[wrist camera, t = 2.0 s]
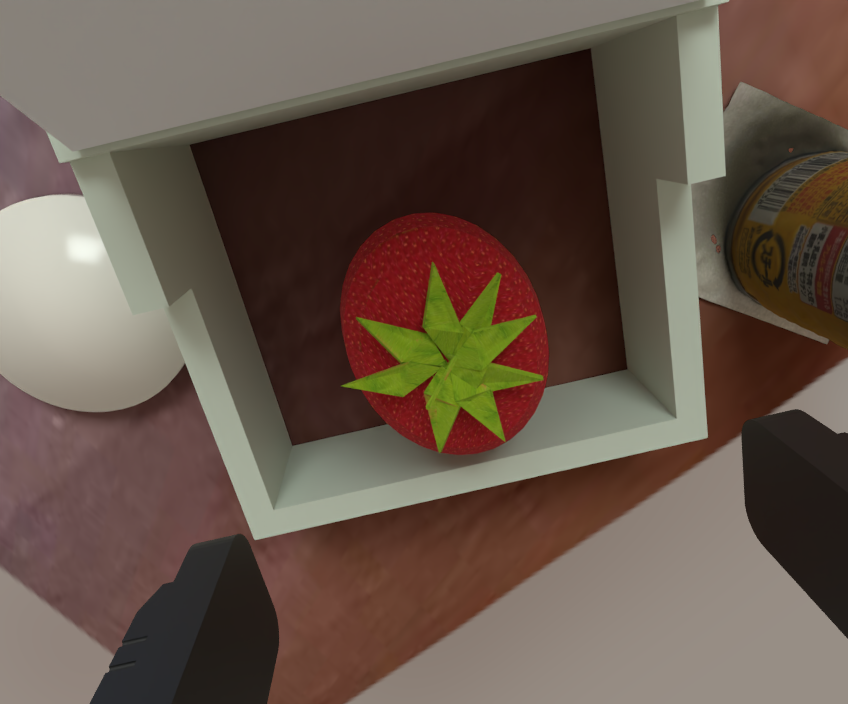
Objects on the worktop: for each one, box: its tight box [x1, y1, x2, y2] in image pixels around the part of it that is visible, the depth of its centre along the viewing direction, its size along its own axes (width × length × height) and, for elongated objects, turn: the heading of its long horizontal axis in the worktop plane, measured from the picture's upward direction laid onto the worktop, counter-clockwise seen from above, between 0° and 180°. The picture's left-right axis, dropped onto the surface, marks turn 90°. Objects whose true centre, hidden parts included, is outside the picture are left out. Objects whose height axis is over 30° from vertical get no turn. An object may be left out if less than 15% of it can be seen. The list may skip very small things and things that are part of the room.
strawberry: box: [340, 213, 549, 455], centre depth 19 cm, size 6×8×10 cm
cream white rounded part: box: [0, 194, 185, 412], centre depth 22 cm, size 8×8×1 cm
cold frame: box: [0, 0, 729, 540], centre depth 14 cm, size 20×16×18 cm
